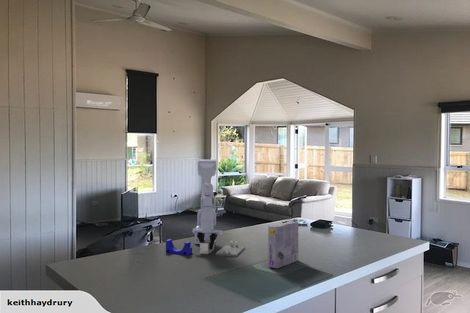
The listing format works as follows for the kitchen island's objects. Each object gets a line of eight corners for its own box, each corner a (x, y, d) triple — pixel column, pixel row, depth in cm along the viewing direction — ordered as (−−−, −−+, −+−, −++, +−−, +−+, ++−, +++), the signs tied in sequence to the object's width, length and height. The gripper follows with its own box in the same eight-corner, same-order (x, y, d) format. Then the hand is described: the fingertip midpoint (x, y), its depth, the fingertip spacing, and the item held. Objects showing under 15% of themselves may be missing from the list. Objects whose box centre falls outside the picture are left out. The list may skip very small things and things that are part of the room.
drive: (199, 253, 196) (200, 242, 196) (206, 249, 204) (206, 238, 204) (207, 254, 195) (207, 243, 195) (213, 249, 203) (214, 239, 203)
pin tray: (215, 255, 193) (215, 247, 193) (225, 247, 209) (225, 240, 208) (236, 256, 190) (236, 249, 190) (244, 248, 206) (244, 241, 206)
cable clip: (192, 253, 196) (192, 241, 196) (187, 255, 192) (187, 243, 192) (171, 250, 201) (171, 238, 201) (165, 252, 197) (165, 240, 197)
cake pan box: (290, 258, 189) (291, 219, 189) (300, 260, 186) (300, 221, 186) (266, 267, 175) (267, 226, 174) (276, 269, 171) (277, 227, 171)
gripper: (190, 221, 197) (190, 249, 198) (219, 223, 193) (218, 251, 194) (195, 218, 204) (195, 246, 204) (223, 220, 200) (223, 248, 201)
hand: (207, 248), depth 200 cm, fingers closed on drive, 4 cm apart
